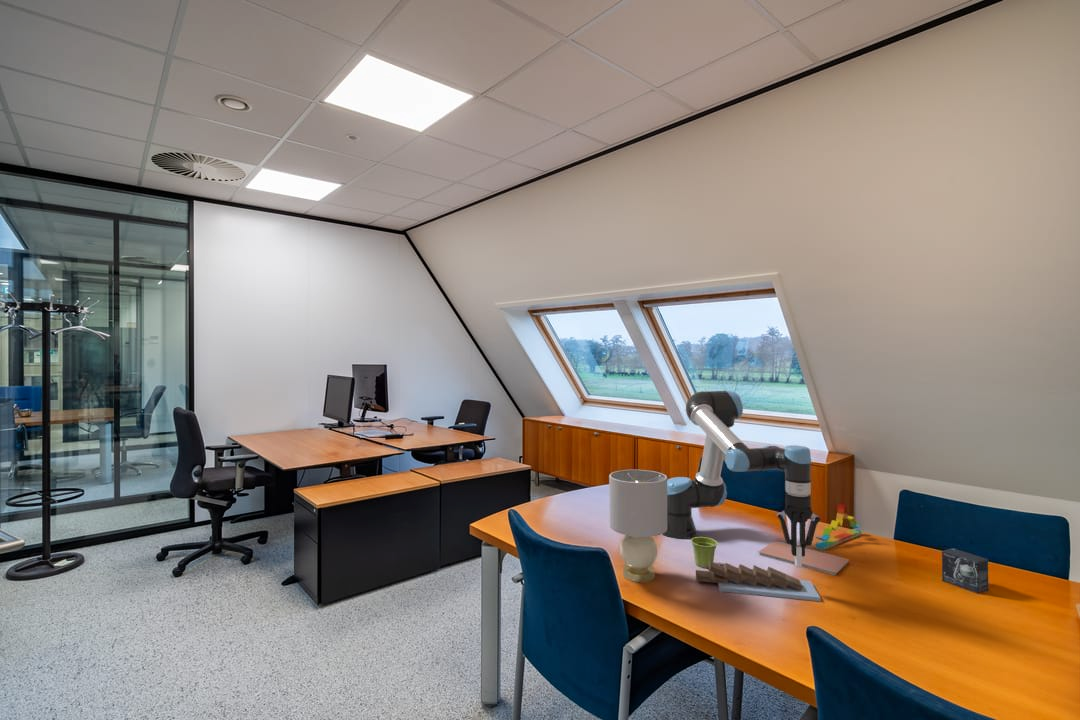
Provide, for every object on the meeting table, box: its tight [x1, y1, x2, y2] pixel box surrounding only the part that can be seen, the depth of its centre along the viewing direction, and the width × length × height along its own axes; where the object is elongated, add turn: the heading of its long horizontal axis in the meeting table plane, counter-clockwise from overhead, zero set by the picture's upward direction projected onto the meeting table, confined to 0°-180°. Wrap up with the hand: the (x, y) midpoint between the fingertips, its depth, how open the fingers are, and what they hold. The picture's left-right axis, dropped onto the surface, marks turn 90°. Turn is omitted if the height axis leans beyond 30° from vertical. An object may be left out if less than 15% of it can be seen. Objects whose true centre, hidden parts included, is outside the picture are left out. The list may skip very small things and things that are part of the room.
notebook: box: [757, 540, 850, 576], centre depth 193 cm, size 27×17×2 cm, turn 44°
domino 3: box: [723, 562, 757, 586], centre depth 171 cm, size 2×5×10 cm
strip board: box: [717, 579, 821, 602], centre depth 169 cm, size 30×12×1 cm, turn 76°
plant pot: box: [690, 536, 718, 569], centre depth 188 cm, size 9×9×9 cm
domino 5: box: [751, 564, 787, 589], centre depth 169 cm, size 2×5×10 cm
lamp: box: [608, 469, 668, 583], centre depth 179 cm, size 20×20×35 cm
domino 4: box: [737, 563, 772, 588], centre depth 170 cm, size 2×5×10 cm
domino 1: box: [695, 569, 728, 584], centre depth 173 cm, size 2×5×10 cm
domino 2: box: [708, 561, 740, 584], centre depth 172 cm, size 2×5×10 cm
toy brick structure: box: [815, 503, 862, 551], centre depth 210 cm, size 30×3×15 cm, turn 123°
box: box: [941, 548, 990, 594], centre depth 169 cm, size 11×7×10 cm, turn 23°
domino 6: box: [766, 566, 803, 591], centre depth 167 cm, size 2×5×10 cm
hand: (798, 565), depth 166 cm, fingers closed
